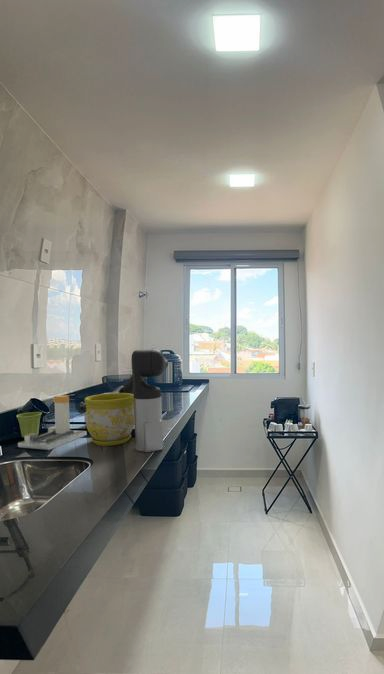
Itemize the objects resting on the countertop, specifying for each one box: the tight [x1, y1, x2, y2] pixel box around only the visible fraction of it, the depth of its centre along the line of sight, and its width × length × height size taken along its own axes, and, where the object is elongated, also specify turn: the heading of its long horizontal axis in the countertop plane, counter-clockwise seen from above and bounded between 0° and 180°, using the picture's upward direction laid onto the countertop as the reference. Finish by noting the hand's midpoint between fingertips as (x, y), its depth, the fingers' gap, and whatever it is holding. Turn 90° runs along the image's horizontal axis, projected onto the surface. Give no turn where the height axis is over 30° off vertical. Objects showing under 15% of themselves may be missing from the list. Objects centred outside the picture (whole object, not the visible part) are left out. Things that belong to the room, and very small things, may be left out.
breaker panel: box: [17, 425, 88, 451], centre depth 148 cm, size 14×21×4 cm, turn 158°
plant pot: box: [16, 411, 43, 439], centre depth 157 cm, size 9×9×9 cm
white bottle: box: [53, 394, 71, 434], centre depth 152 cm, size 5×3×14 cm
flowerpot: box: [84, 392, 135, 447], centre depth 144 cm, size 18×18×16 cm
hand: (79, 408), depth 162 cm, fingers closed
